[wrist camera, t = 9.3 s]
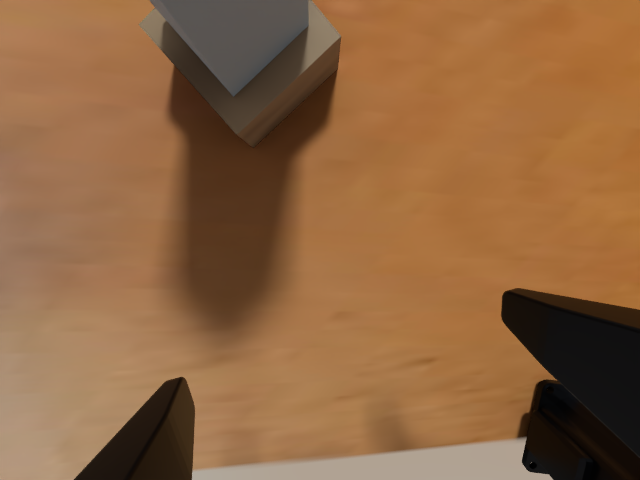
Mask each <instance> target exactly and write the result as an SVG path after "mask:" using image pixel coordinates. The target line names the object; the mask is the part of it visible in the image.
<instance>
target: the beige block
mask: <svg viewBox="0 0 640 480" xmlns="http://www.w3.org/2000/svg"><path fill="white" fill-rule="evenodd" d="M308 10H309V26H308V27H307V28H305V29H304V30H303V31H302V32H301V33H300V34H299V35H298V36H297V37H296V38H295V39H294V40H293V41H292V42H291V43H290V44H289V45H288V46H287V47H285V48H284V49H283V50H282V51H281V52H280V53H279V54H278V55H277V56H276V57H275V58H274V59H273V60H272V61H271V62H270V63H269V64H268V65H267V66H265V67H264V68H263V69H262V70H261V71H260V72H259V73H258V74H257V75H256V76H255V77H254V78H253V79H252V80H251V81H250V82H249V83H248V84H247V85H245V86H244V87H243V88H242V89H241V90H240V91H239V92H238V93H237V94H236V95H235V96H234V97H233V96H232V95H231V93H230V92H229V91H228V90H227V89H226V88H225V87H224V85H223V84H222V83H221V82H220V81H219V80H218V79H217V77H216V76H215V75H214V74H213V73H212V72H211V71H210V70H209V68H208V67H207V66H206V65H205V64H204V63H203V62H202V60H201V59H200V58H199V57H198V56H197V55H196V54H195V53H194V51H193V50H192V49H191V48H190V47H189V46H188V45H187V43H186V42H185V41H184V40H183V39H182V38H181V37H180V35H179V34H178V33H177V32H176V31H175V30H174V29H173V28H172V26H171V25H170V24H169V23H168V22H167V21H166V20H165V18H164V17H163V16H162V15H161V14H160V13H159V11H158V10H157V9H156V8H154V9H153V10H152V11H151V12H150V13H149V14H148V15H147V16H146V18H145V19H144V20H143V21H142V22H141V23H140V24H139V26H140V27H141V28H142V29H143V30H144V31H145V32H146V33H147V35H148V36H149V37H150V38H151V39H152V40H153V41H154V42H155V44H156V45H157V46H158V47H159V48H160V49H161V50H162V51H163V53H164V54H165V55H166V56H167V57H168V58H169V59H170V60H171V62H172V63H173V64H174V65H175V66H176V67H177V68H178V69H179V71H180V72H181V73H182V74H183V75H184V76H185V77H186V78H187V80H188V81H189V82H190V83H191V84H192V85H193V86H194V87H195V89H196V90H197V91H198V92H199V93H200V94H201V95H202V96H203V98H204V99H205V100H206V101H207V102H208V103H209V104H210V105H211V107H212V108H213V109H214V110H215V111H216V112H217V113H218V114H219V116H220V117H221V118H222V119H223V120H224V121H225V122H226V123H227V125H228V126H229V127H230V128H231V129H232V130H233V131H234V132H235V134H236V135H237V136H239V137H240V138H241V139H242V140H244V141H245V142H246V143H248V144H249V145H250V146H251V147H253V148H254V147H255V146H256V145H257V144H258V143H259V142H260V141H261V140H262V139H263V138H265V137H266V136H267V135H268V134H269V133H270V132H271V131H272V130H273V129H274V128H275V127H276V126H277V125H278V124H279V123H280V122H282V121H283V120H284V119H285V118H286V117H287V116H288V115H289V114H290V113H291V112H292V111H293V110H294V109H295V108H296V107H298V106H299V105H300V104H301V103H302V102H303V101H304V100H305V99H306V98H307V97H308V96H309V95H310V94H311V93H312V92H314V91H315V90H316V89H317V88H318V87H319V86H320V85H321V84H322V83H323V82H324V81H325V80H326V79H327V78H328V77H329V76H331V75H332V74H333V73H334V72H335V71H336V70H337V69H338V62H339V52H340V42H341V35H340V34H339V33H338V32H337V31H336V29H335V28H334V27H333V26H332V25H331V23H330V22H329V21H328V20H327V18H326V17H325V16H324V15H323V14H322V12H321V11H320V10H319V9H318V8H317V6H316V5H315V4H314V3H313V2H312V0H308Z"/></svg>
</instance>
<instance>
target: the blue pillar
mask: <svg viewBox="0 0 640 480" xmlns="http://www.w3.org/2000/svg"><path fill="white" fill-rule="evenodd" d="M150 2H151V3H152V4H153V5H154V7H155V8H156V9H157V10H158V11H159V13H160V14H161V15H162V16H163V17H164V18H165V20H166V21H167V22H168V23H169V24H170V25H171V26H172V28H173V29H174V30H175V31H176V32H177V33H178V34H179V35H180V37H181V38H182V39H183V40H184V41H185V42H186V43H187V45H188V46H189V47H190V48H191V49H192V50H193V51H194V53H195V54H196V55H197V56H198V57H199V58H200V59H201V60H202V62H203V63H204V64H205V65H206V66H207V67H208V68H209V70H210V71H211V72H212V73H213V74H214V75H215V76H216V77H217V79H218V80H219V81H220V82H221V83H222V84H223V85H224V87H225V88H226V89H227V90H228V91H229V92H230V93H231V95H232V96H233V97H234V96H235V95H236V94H237V93H238V92H239V91H240V90H241V89H242V88H243V87H244V86H245V85H247V84H248V83H249V82H250V81H251V80H252V79H253V78H254V77H255V76H256V75H257V74H258V73H259V72H260V71H261V70H262V69H263V68H264V67H265V66H267V65H268V64H269V63H270V62H271V61H272V60H273V59H274V58H275V57H276V56H277V55H278V54H279V53H280V52H281V51H282V50H283V49H284V48H285V47H287V46H288V45H289V44H290V43H291V42H292V41H293V40H294V39H295V38H296V37H297V36H298V35H299V34H300V33H301V32H302V31H303V30H304V29H305V28H307V27H308V26H309V10H308V0H150Z"/></svg>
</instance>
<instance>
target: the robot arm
mask: <svg viewBox="0 0 640 480" xmlns="http://www.w3.org/2000/svg"><path fill="white" fill-rule="evenodd" d="M501 317H502V320H503V322H504V324H505V325H506V326H507V327H508V328H509V330H510V331H511V332H512V333H513V334H514V335H515V336H516V337H517V338H518V340H519V341H520V342H521V343H522V344H523V345H524V346H525V347H526V348H527V350H528V351H529V352H530V353H531V354H532V355H533V356H534V357H535V358H536V360H537V361H538V362H539V363H540V364H541V365H542V366H543V367H544V368H545V369H546V370H547V371H548V372H549V373H550V374H551V375H552V376H553V377H554V378H555V379H557V380H558V381H555V380H543V381H541V382H540V383H539V385H538V389H537V394H536V398H535V403H534V408H533V412H532V417H531V421H530V426H529V431H528V435H527V440H526V445H525V450H524V453H523V458H522V463H523V465H524V466H525V468H526V469H527V470H528V471H530V472H534V473H543V474H549V475H550V476H551V477H552V478H553V480H640V310H638V309H632V308H627V307H621V306H615V305H610V304H604V303H599V302H593V301H588V300H582V299H576V298H571V297H565V296H560V295H554V294H549V293H543V292H537V291H532V290H526V289H521V288H515V289H512V290H508V291H505V292H504V293H503V296H502V311H501ZM548 387H549V389H548V390H546V389H547V388H548ZM194 422H195V407H194V402H193V399H192V396H191V393H190V390H189V387H188V384H187V381H186V379H185V378H184V377H179V378H175V379H171V380H168V381H166V382H165V383H163V384H162V386H161V387H160V388H159V389H158V390H157V391H156V392H155V393H154V394H153V395H152V396H151V397H150V398H149V400H148V401H147V402H146V403H145V404H144V405H143V406H142V407H141V408H140V409H139V410H138V411H137V412H136V413H135V415H134V416H133V417H132V418H131V419H130V420H129V421H128V422H127V423H126V424H125V425H124V426H123V427H122V429H121V430H120V431H119V432H118V433H117V434H116V435H115V436H114V437H113V438H112V439H111V440H110V441H109V442H108V444H107V445H106V446H105V447H104V448H103V449H102V450H101V451H100V452H99V453H98V454H97V455H96V456H95V458H94V459H93V460H92V461H91V462H90V463H89V464H88V465H87V466H86V467H85V468H84V469H83V470H82V471H81V473H80V474H79V475H78V476H77V477H76V478H75V479H74V480H192V467H193V444H194ZM531 462H532V463H531ZM530 463H531V464H530Z"/></svg>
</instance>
